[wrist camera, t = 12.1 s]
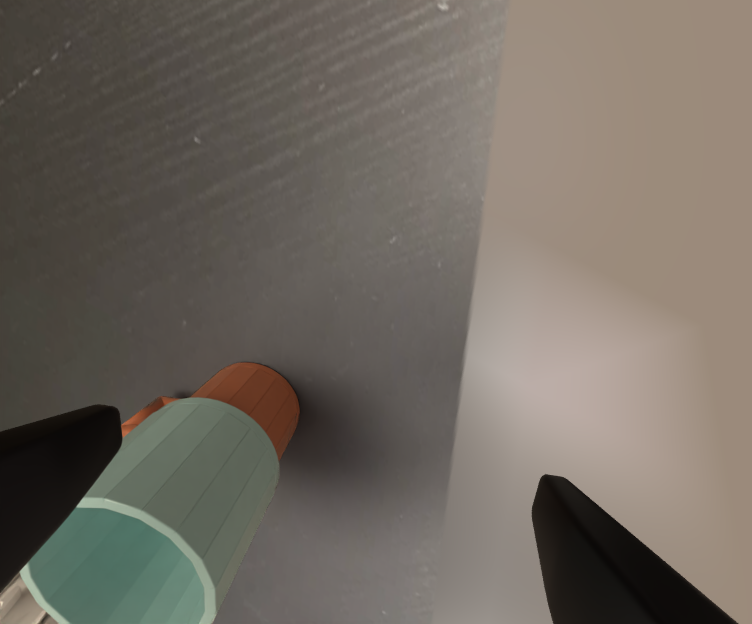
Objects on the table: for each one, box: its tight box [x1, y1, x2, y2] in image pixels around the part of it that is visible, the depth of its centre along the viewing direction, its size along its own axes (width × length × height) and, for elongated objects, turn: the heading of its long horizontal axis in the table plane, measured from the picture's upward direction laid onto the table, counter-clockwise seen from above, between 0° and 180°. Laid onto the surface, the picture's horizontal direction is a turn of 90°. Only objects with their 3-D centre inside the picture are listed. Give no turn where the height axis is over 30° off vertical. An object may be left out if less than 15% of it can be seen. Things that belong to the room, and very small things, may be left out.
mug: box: [121, 362, 300, 461], centre depth 20 cm, size 8×6×5 cm
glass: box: [20, 397, 279, 624], centre depth 15 cm, size 7×7×6 cm
